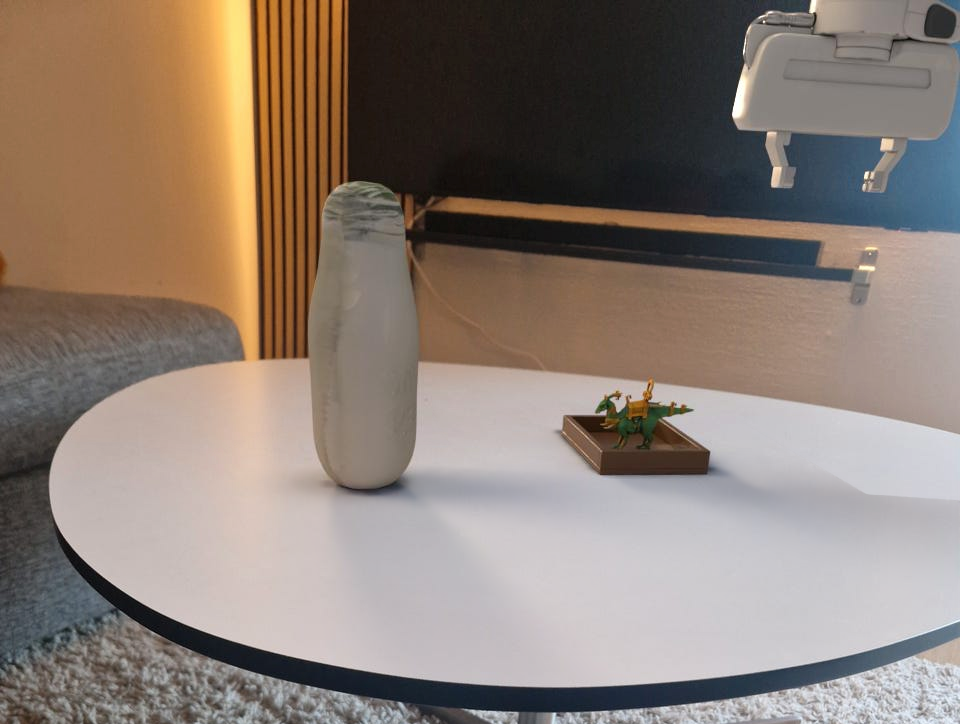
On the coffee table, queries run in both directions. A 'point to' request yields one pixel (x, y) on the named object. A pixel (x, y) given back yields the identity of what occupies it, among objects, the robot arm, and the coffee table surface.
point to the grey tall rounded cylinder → (363, 340)
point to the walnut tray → (634, 448)
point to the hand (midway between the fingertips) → (827, 190)
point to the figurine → (637, 416)
